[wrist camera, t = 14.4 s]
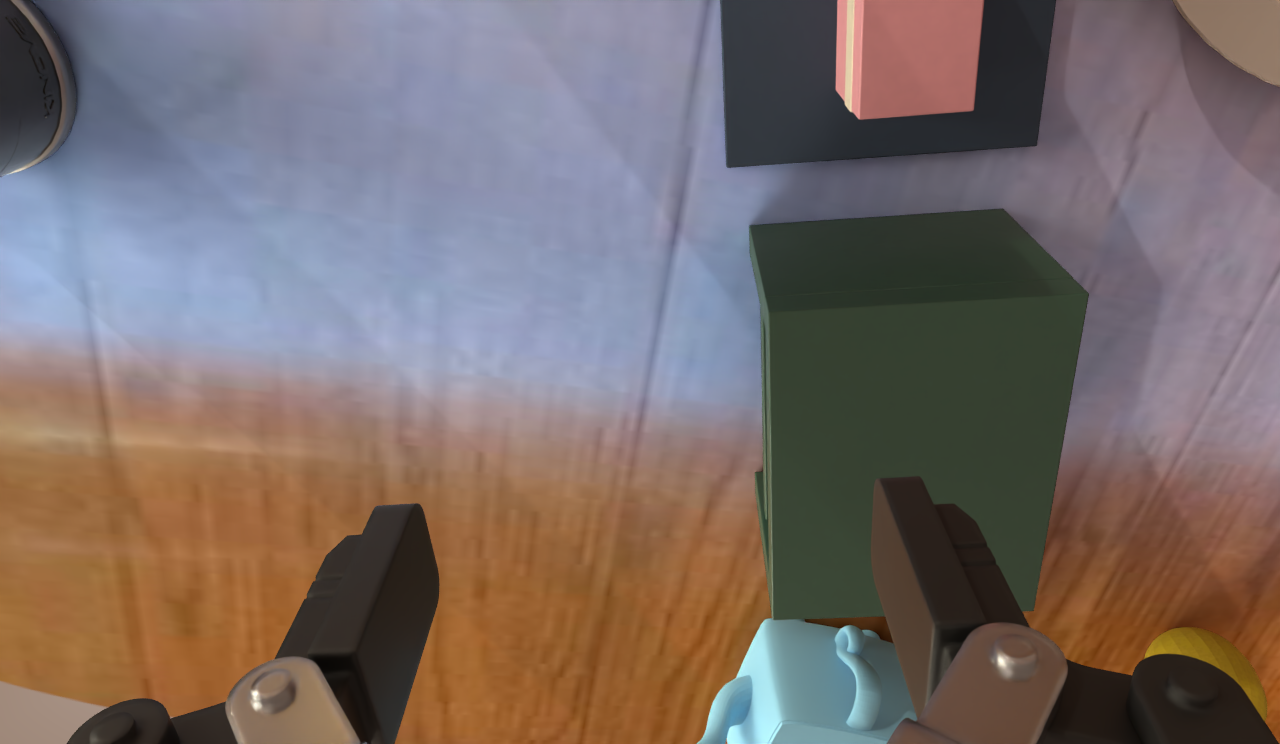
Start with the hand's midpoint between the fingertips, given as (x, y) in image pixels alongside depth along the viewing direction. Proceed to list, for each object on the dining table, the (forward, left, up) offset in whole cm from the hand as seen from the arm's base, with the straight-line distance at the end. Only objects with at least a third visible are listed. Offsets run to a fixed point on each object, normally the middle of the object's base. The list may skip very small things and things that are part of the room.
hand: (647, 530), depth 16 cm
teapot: (+7, -35, -29) cm, 46 cm away
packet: (+10, +5, -28) cm, 30 cm away
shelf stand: (+10, -13, -29) cm, 33 cm away
